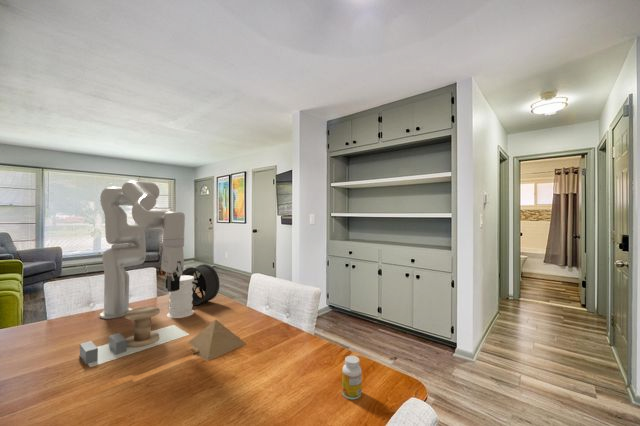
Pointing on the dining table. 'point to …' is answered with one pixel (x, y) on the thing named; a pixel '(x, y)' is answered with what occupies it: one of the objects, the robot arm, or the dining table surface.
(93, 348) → the terminal block
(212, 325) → the model pyramid
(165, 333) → the base board
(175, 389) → the dining table surface
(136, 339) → the bobbin
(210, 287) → the wheel rim
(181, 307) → the decorative container
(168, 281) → the plug
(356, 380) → the supplement bottle
